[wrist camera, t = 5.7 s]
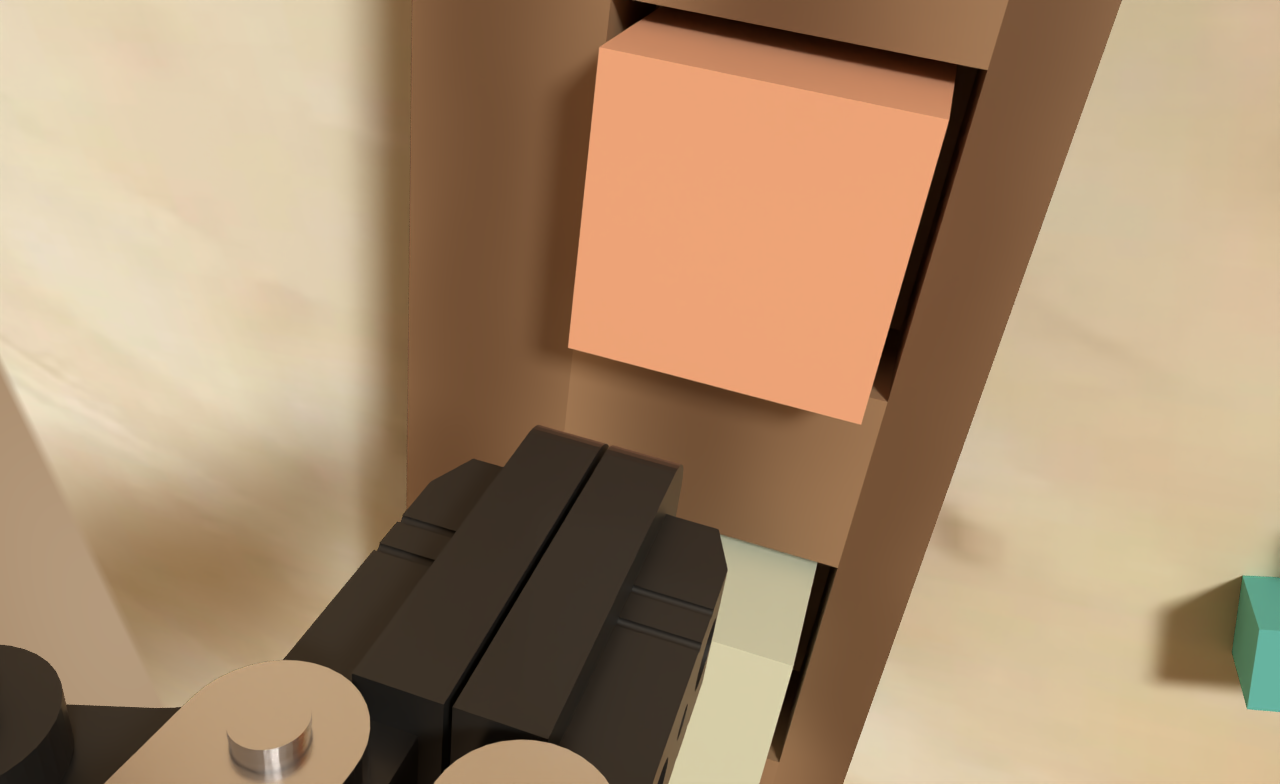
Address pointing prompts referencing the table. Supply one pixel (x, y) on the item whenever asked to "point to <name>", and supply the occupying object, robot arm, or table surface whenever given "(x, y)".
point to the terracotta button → (753, 205)
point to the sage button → (746, 666)
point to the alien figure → (1258, 642)
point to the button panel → (704, 414)
